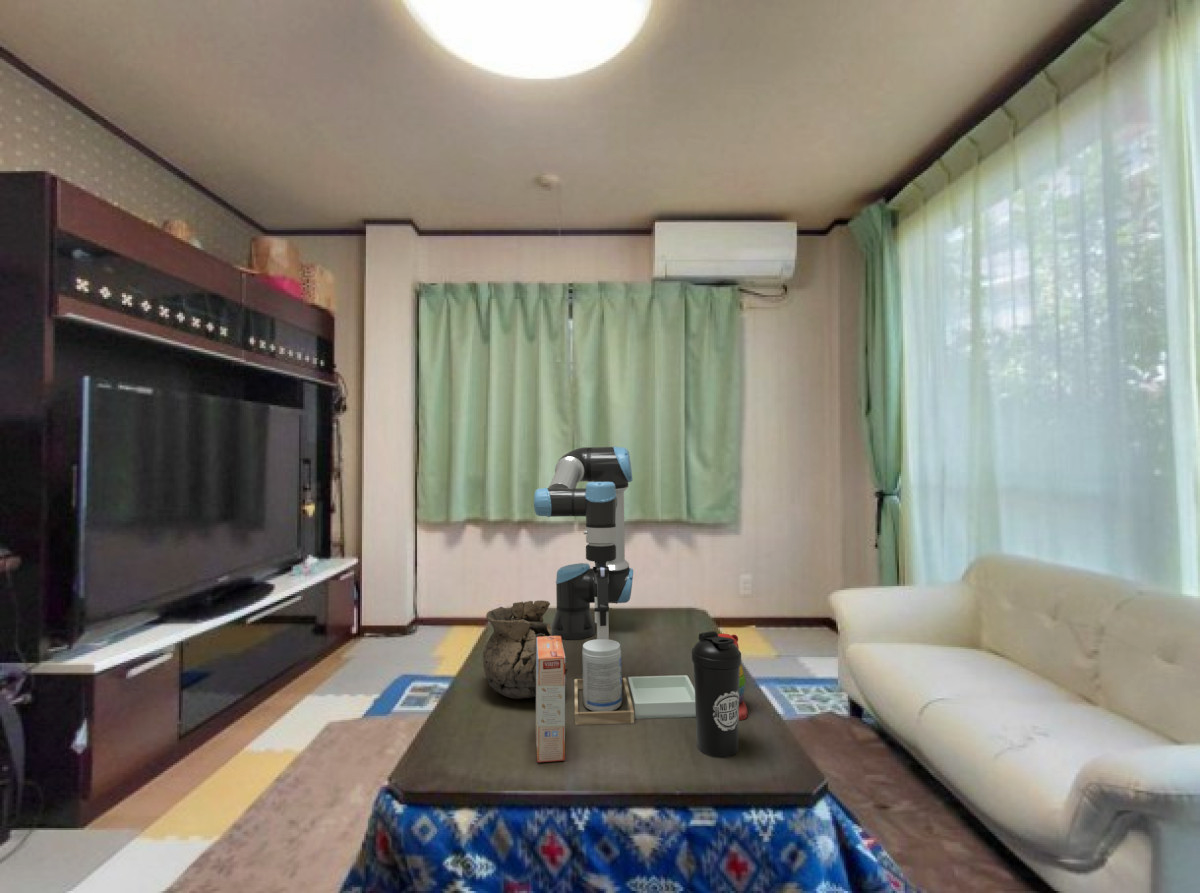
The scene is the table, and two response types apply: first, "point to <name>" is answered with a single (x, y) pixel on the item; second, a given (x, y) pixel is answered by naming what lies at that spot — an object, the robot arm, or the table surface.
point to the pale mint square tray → (662, 696)
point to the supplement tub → (602, 675)
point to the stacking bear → (741, 682)
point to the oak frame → (603, 716)
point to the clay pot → (515, 648)
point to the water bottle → (716, 694)
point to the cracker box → (550, 699)
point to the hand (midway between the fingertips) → (601, 630)
